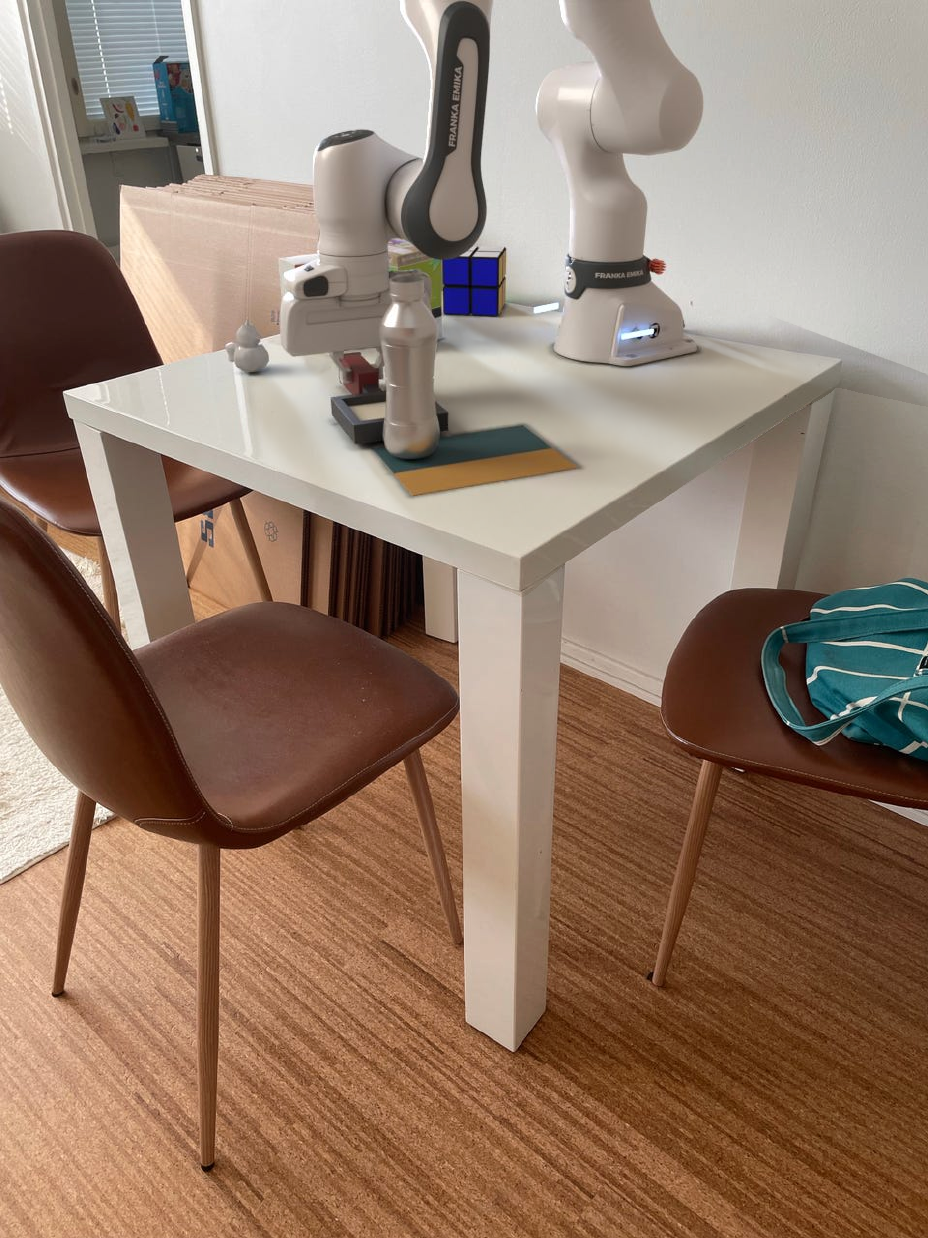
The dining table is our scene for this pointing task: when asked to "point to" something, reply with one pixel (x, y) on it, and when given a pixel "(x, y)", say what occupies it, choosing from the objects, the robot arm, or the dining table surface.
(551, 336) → the dining table surface
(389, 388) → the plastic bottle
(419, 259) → the tea box
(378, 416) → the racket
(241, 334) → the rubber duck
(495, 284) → the puzzle cube
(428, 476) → the mat
